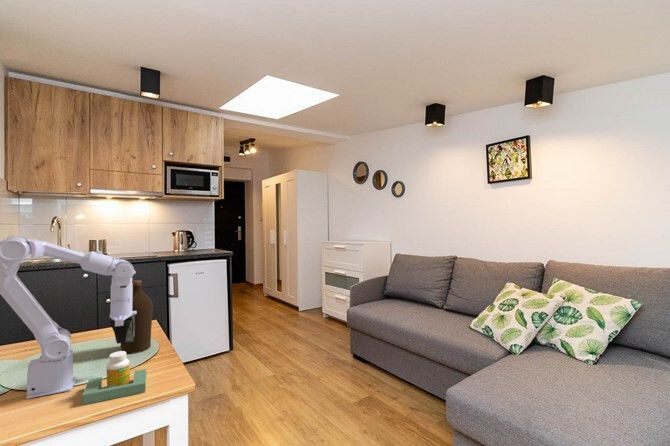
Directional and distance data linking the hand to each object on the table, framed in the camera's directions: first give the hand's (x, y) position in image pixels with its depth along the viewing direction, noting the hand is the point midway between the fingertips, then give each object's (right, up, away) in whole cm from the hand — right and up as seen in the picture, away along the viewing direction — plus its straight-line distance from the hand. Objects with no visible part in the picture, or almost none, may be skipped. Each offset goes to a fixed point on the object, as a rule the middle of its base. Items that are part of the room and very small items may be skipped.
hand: (121, 342), depth 102 cm
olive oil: (-7, -9, +18) cm, 21 cm away
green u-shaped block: (+5, -10, -10) cm, 14 cm away
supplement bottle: (+5, -10, -9) cm, 14 cm away
